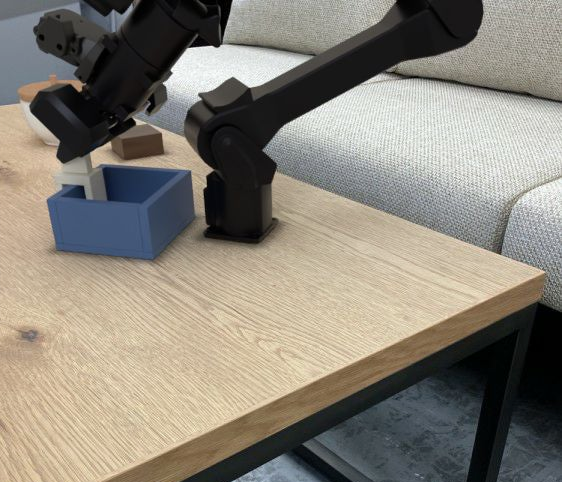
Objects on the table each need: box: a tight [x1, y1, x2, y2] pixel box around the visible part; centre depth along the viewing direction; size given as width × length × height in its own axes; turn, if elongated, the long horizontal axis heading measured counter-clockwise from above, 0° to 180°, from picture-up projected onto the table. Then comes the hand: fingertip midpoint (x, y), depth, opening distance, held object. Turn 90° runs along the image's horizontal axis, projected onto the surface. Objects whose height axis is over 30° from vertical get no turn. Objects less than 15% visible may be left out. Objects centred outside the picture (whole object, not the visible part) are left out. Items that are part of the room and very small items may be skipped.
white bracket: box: [53, 138, 107, 201], centre depth 74 cm, size 4×3×10 cm
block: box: [110, 123, 165, 161], centre depth 102 cm, size 6×6×3 cm
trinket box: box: [16, 74, 86, 147], centre depth 106 cm, size 11×11×9 cm
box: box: [46, 163, 196, 261], centre depth 75 cm, size 11×12×6 cm
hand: (63, 157), depth 74 cm, fingers closed on white bracket
